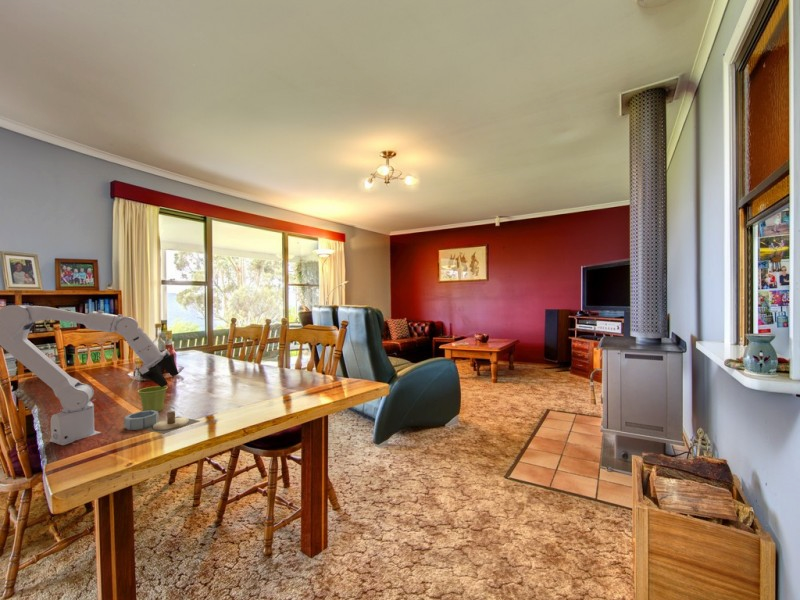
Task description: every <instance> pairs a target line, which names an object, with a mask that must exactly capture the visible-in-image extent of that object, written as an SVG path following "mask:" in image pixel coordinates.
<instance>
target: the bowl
mask: <svg viewBox="0 0 800 600" xmlns="http://www.w3.org/2000/svg"><path fill="white" fill-rule="evenodd" d="M159 412H160V411H154V410H149V411H143V410H142V411H137V412H134V413H133V412H132V413H129V414H127V415H126V416H125V417H124V418H123V419H124V421H123V422H124V429H126V430H128V431H135V430H143V429H142V428H147V427H150V426H153V425H154V424H155V423H157V422H160V420H159V419H160V418H159V417H160V416H159V415H160V414H159Z"/></svg>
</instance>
